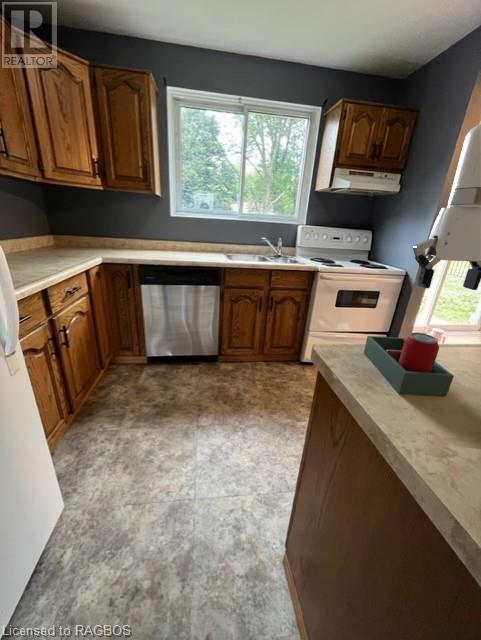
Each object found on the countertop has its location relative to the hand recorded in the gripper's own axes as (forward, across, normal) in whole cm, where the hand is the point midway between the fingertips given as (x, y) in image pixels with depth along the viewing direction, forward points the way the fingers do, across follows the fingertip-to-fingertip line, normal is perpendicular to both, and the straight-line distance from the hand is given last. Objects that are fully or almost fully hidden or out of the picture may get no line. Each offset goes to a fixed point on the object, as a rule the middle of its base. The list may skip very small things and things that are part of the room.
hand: (446, 287), depth 58 cm
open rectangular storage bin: (+24, +2, -5) cm, 24 cm away
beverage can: (+24, +2, 0) cm, 24 cm away
